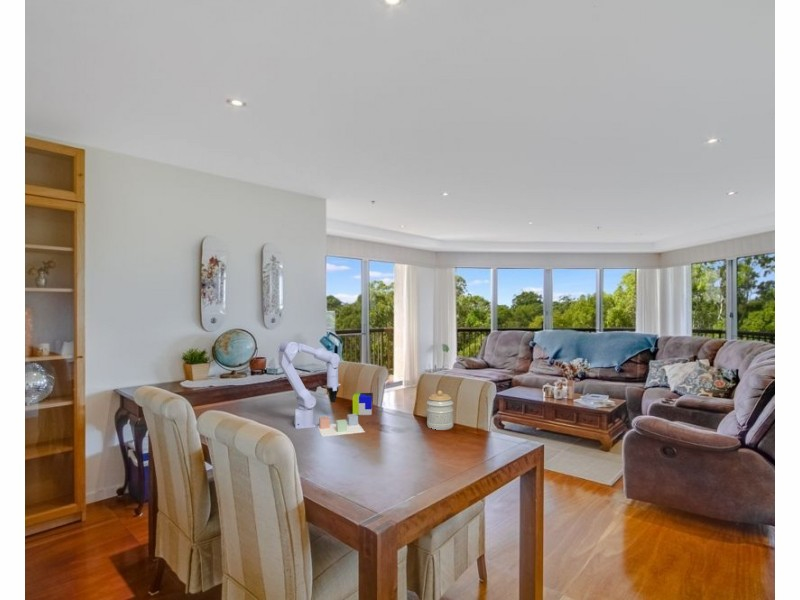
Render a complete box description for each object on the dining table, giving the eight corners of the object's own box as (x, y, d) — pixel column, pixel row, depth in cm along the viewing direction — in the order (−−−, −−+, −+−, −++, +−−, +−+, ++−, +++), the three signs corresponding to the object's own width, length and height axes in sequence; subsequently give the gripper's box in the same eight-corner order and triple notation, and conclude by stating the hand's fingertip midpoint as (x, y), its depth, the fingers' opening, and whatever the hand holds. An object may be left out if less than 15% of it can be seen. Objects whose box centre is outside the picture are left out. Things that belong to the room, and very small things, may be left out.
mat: (322, 437, 194) (322, 436, 194) (317, 426, 211) (317, 425, 211) (365, 432, 200) (365, 431, 200) (356, 422, 217) (356, 421, 217)
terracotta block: (320, 429, 205) (320, 419, 205) (319, 426, 210) (319, 417, 210) (329, 428, 207) (329, 418, 207) (328, 425, 211) (328, 416, 211)
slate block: (349, 426, 210) (349, 416, 210) (347, 423, 214) (347, 414, 214) (358, 425, 211) (358, 416, 211) (356, 422, 215) (356, 413, 215)
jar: (453, 422, 215) (452, 387, 215) (453, 430, 202) (453, 393, 202) (427, 422, 216) (427, 387, 216) (426, 430, 203) (426, 393, 203)
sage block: (337, 432, 200) (337, 422, 200) (336, 429, 204) (336, 420, 204) (347, 431, 201) (347, 421, 201) (345, 428, 205) (345, 419, 205)
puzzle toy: (371, 415, 230) (371, 397, 230) (352, 415, 230) (352, 397, 230) (372, 410, 240) (372, 392, 240) (355, 410, 240) (354, 393, 240)
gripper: (342, 377, 215) (343, 404, 215) (338, 373, 229) (338, 398, 229) (328, 378, 213) (329, 405, 213) (324, 373, 227) (325, 399, 227)
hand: (332, 402), depth 221 cm, fingers closed
